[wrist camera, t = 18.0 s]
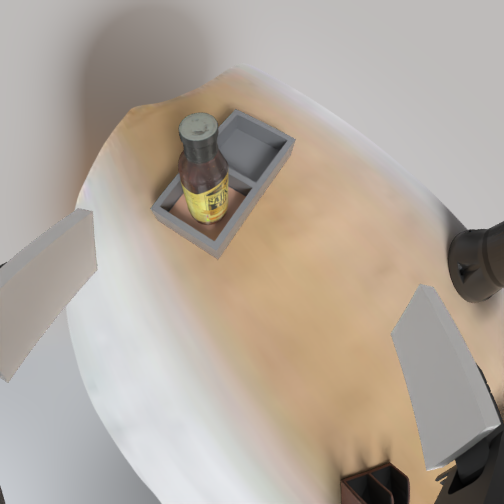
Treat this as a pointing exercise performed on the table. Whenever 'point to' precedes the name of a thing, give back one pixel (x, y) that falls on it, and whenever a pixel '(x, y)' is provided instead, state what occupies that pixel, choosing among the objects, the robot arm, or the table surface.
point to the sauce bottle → (203, 169)
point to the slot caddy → (230, 181)
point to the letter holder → (377, 487)
